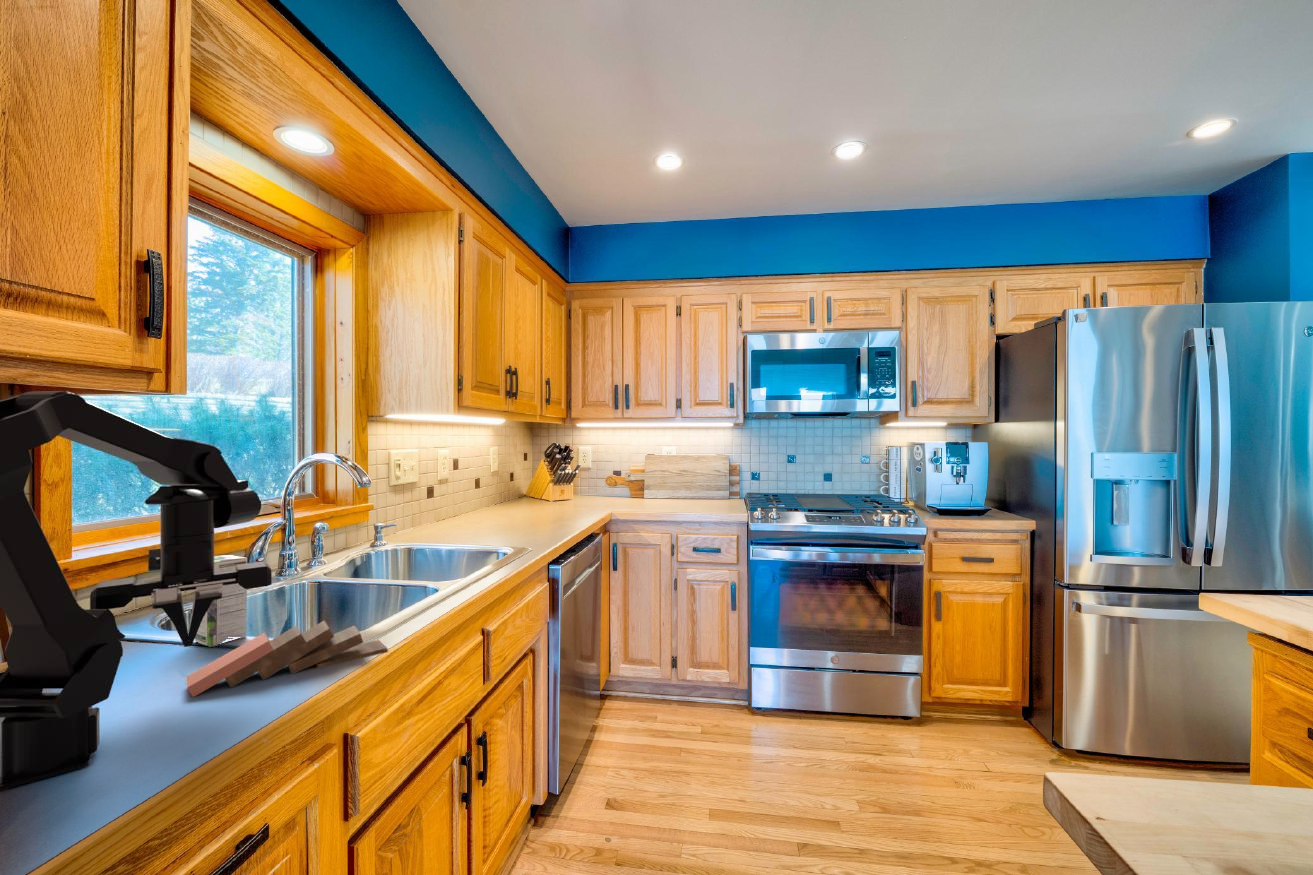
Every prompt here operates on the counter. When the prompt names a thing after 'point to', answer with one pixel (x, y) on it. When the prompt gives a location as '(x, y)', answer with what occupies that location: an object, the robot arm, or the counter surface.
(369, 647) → the domino
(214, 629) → the syrup box
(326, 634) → the domino
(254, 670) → the domino
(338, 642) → the domino
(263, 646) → the domino
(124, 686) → the counter surface
